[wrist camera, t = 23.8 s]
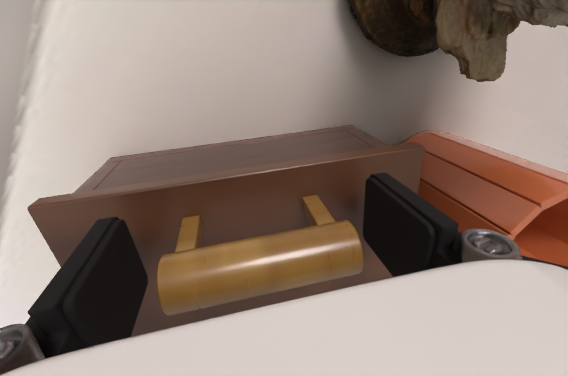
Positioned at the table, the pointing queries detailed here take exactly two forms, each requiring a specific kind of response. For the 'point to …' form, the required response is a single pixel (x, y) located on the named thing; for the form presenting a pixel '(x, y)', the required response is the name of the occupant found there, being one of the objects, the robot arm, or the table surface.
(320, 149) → the chest
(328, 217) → the lid
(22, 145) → the table surface
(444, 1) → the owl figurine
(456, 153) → the cup
